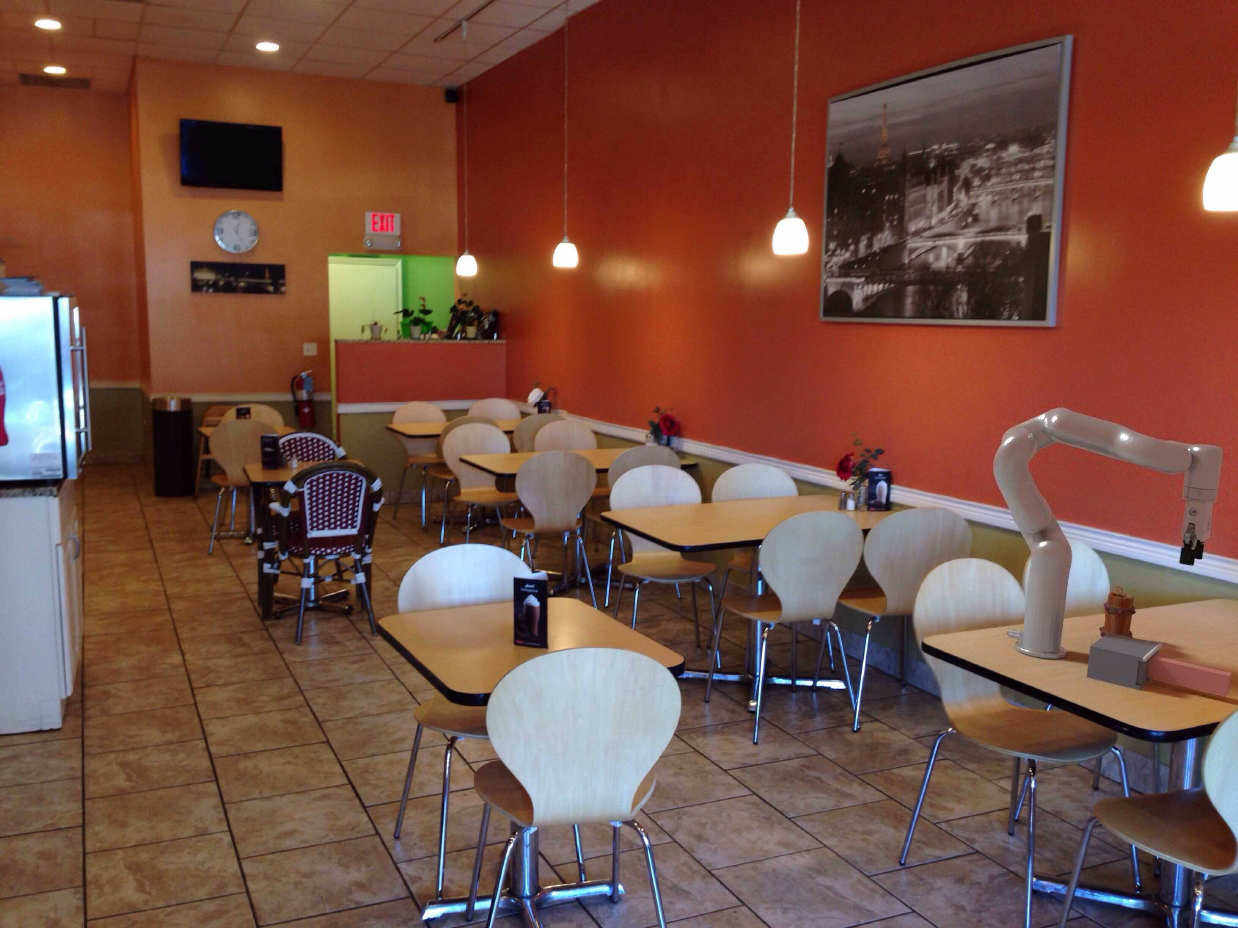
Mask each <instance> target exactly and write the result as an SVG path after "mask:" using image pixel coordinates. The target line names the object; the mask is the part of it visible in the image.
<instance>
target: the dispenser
mask: <svg viewBox="0 0 1238 928" xmlns="http://www.w3.org/2000/svg"><path fill="white" fill-rule="evenodd" d="M1132 637H1133V636H1132ZM1132 637H1128V636H1123V635H1118V634H1114V633H1109V632H1108V633H1107V634H1106V635H1104V636H1103V637H1100V638H1099V639H1097V640H1096V641H1095V642H1093V643H1092V644H1091V645H1090V647H1089V655H1088V663H1087V671H1086V678H1089V679H1092V680H1098V681H1101V682H1105V683H1109V684H1113V685H1117V686H1121V687H1124V688H1129V689H1133V690H1137V691H1140V690H1141V689H1142V688H1143V687H1145V685H1146V684H1147V683H1148V682H1150V681H1151V679H1150V678H1147V671H1148V664H1149V658H1150V657H1151V656H1152V655H1154V656H1158V653H1159V650H1160V649H1161V648H1162V647H1163V645H1164V644H1163V643H1162V642H1159V643H1158V642H1155V641H1149V640H1147V639H1146V640H1145V639H1141V638H1136V637H1133V638H1132Z"/></svg>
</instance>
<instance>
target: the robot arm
mask: <svg viewBox="0 0 1238 928" xmlns="http://www.w3.org/2000/svg"><path fill="white" fill-rule="evenodd" d="M1000 442H1001V444H1000V445H999V447H998V449H997V450H996V452H995V455H994V459H993V462H992V463H993V465H992V470H993V476H994V479H995V482H996V484H997V486H998V488H999V491H1000V494H1002V497H1003V499H1004V501H1005V502H1006V505H1007V507H1008V509H1009V511H1010V513H1011V517H1012V520H1013V522H1014V524H1016V525H1017V528H1018V529H1019V531H1020V533H1021V535H1022V538H1023V539H1024V541H1025V542H1026V545H1027V546H1028V548H1029V551H1030V553H1031V555H1030V556H1031V557H1030V559H1031V560H1030V568H1029V572H1028V573H1029V574H1028V582H1027V588H1026V590H1027V591H1026V598H1025V599H1026V600H1025V608H1024V609H1025V610H1024V618H1023V628H1022V629H1020V630H1016V629H1013V628H1011V627H1010V628H1007V630H1006V635H1007V637H1008V638H1011V639H1015V640H1017V641H1015V644H1014V648H1015V649H1016V650H1017V651H1018V652H1020V653H1022V654H1025V655H1028V656H1031V657H1036V658H1042V659H1048V660H1049V659H1052V660H1053V659H1062V658H1064V657H1066V656H1067V650H1066V648H1064V647H1063V646H1062V637H1063V631H1064V630H1063V629H1064V622H1065V621H1064V620H1065V613H1066V612H1065V611H1066V604H1067V594H1068V586H1069V578H1070V574H1071V573H1070V572H1071V568H1072V563H1073V551H1072V550H1073V549H1072V547H1071V544H1070V542H1069V541H1068V539H1067V537H1066V535H1065V534H1064V532H1063V530H1062V527H1061V526H1060V524H1059V522H1058V520H1057V518H1056V517H1055V514H1054V513H1053V511H1052V509H1051V507H1050V505H1049V502H1048V501H1047V499H1045V497H1044V496H1043V495H1042V494H1041V492H1040V491H1039V489H1038V487H1037V485H1036V483H1035V481H1034V478H1033V477H1032V475H1031V472H1030V470H1029V463H1030V461H1031V459H1033V457H1034V456H1035V455H1036V453H1037V451H1039V450H1041V449H1042V450H1043V449H1044V448H1046V447H1049V446H1052V445H1054V444H1056V443H1060V444H1064V445H1067V446H1071V447H1075V448H1077V449H1082V450H1085V451H1088V452H1091V453H1095V454H1098V455H1102V456H1105V457H1109V458H1111V459H1114V460H1119V461H1123V462H1128V463H1130V464H1134V465H1137V466H1140V467H1143V468H1147V469H1150V470H1153V471H1158V472H1160V473H1164V474H1168V475H1181V474H1183V473H1184V480H1183V486H1182V487H1183V488H1182V497H1181V499H1183V500H1186V501H1185V507H1184V513H1183V519H1182V527H1181V538H1182V539H1183V540H1182V544H1181V547H1180V553H1179V561H1178V563H1179V564H1180V565H1186V566H1192V567H1193V566H1195V561H1196V560H1201V561H1202V559H1203V557H1204V556H1203V555H1204V548H1205V541H1206V540H1208V539H1209V538H1210V537H1211V530H1212V519H1213V504H1215V503H1217V500H1218V492H1219V486H1220V485H1219V484H1220V478H1221V477H1220V476H1221V469H1222V463H1223V456H1224V455H1223V454H1224V451H1223V448H1222V447H1220V446H1218V445H1215V444H1213V445H1212V444H1205V443H1203V444H1202V443H1197V444H1195V443H1194V444H1190V443H1184V442H1181V441H1175V440H1163V439H1159V438H1157V437H1152V436H1149V435H1146V434H1143V433H1140V432H1137V431H1135V430H1132V429H1130V428H1128V427H1126V426H1124V425H1121V424H1119V423H1116V422H1112V421H1109V420H1105V419H1101V418H1098V417H1094V416H1091V415H1088V414H1084V413H1079V412H1077V411H1074V410H1073V411H1072V410H1070V409H1069V408H1066V407H1055V408H1053V409H1050V410H1047V411H1046V412H1044V413H1041V414H1038V415H1037V416H1034V417H1032V418H1030V419H1028V420H1026V421H1024V422H1023V421H1022V422H1021V423H1019V424H1016V425H1014V426H1011V427H1010V428H1009V429H1008V430H1006V431H1005V432H1004V434H1003V435H1002V437H1001V441H1000Z"/></svg>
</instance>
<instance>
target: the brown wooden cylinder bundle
mask: <svg viewBox="0 0 1238 928" xmlns="http://www.w3.org/2000/svg"><path fill="white" fill-rule="evenodd" d="M1123 591H1124V590H1123V586H1120V585H1113V587H1112V591H1111V592H1109V593H1108V594H1107V601H1106V602H1104V603H1103V606H1104V611H1105V613H1104V617H1105V618H1104V624H1103V626H1100V627H1099V628H1098V629H1099V632H1100V634H1099V635H1100V638H1102V637H1103V636H1104V635H1106V634H1107V633H1108V632H1109V633H1114V634H1118V635H1123V636H1128V637H1132V638H1134V637H1133V632H1132V631H1131V625H1132V619H1133V615H1135V614H1136V612H1137V611H1136V607H1135V606H1134V600H1135V598H1134V596H1132V595H1131V594H1126V593H1123Z"/></svg>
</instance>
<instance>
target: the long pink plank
mask: <svg viewBox="0 0 1238 928" xmlns="http://www.w3.org/2000/svg"><path fill="white" fill-rule="evenodd" d="M1147 678H1150V680H1155V681H1159V682H1164V683H1168V684H1171V685H1176V686H1180V687H1185V688H1188V689H1193V690H1195V691H1196V690H1197V691H1201V692H1206V693H1210V694H1214V695H1218V696H1221V697H1222V696H1223V697H1227V696H1228V695H1229V693H1230V686H1231V680H1232V672H1229V671H1224V670H1221V669H1215V668H1210V667H1206V666H1202V665H1198V664H1193V663H1189V662H1184V661H1180V660H1175V659H1171V658H1166V657H1162V656H1158V655H1157V656H1154V655H1152V656H1151V657H1150V658H1149V664H1148V671H1147Z"/></svg>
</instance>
